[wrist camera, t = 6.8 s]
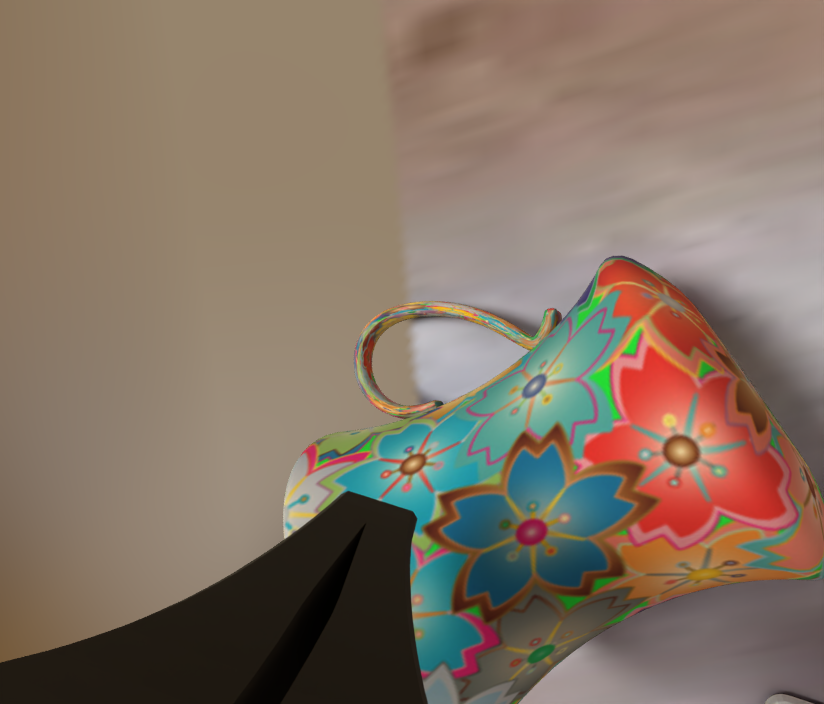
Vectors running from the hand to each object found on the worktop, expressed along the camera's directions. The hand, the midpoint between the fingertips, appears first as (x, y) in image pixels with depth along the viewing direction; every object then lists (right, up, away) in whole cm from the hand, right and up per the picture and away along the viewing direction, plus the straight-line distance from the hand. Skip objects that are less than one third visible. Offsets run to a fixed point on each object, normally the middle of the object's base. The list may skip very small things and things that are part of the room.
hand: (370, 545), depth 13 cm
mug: (+8, +4, +4) cm, 10 cm away
